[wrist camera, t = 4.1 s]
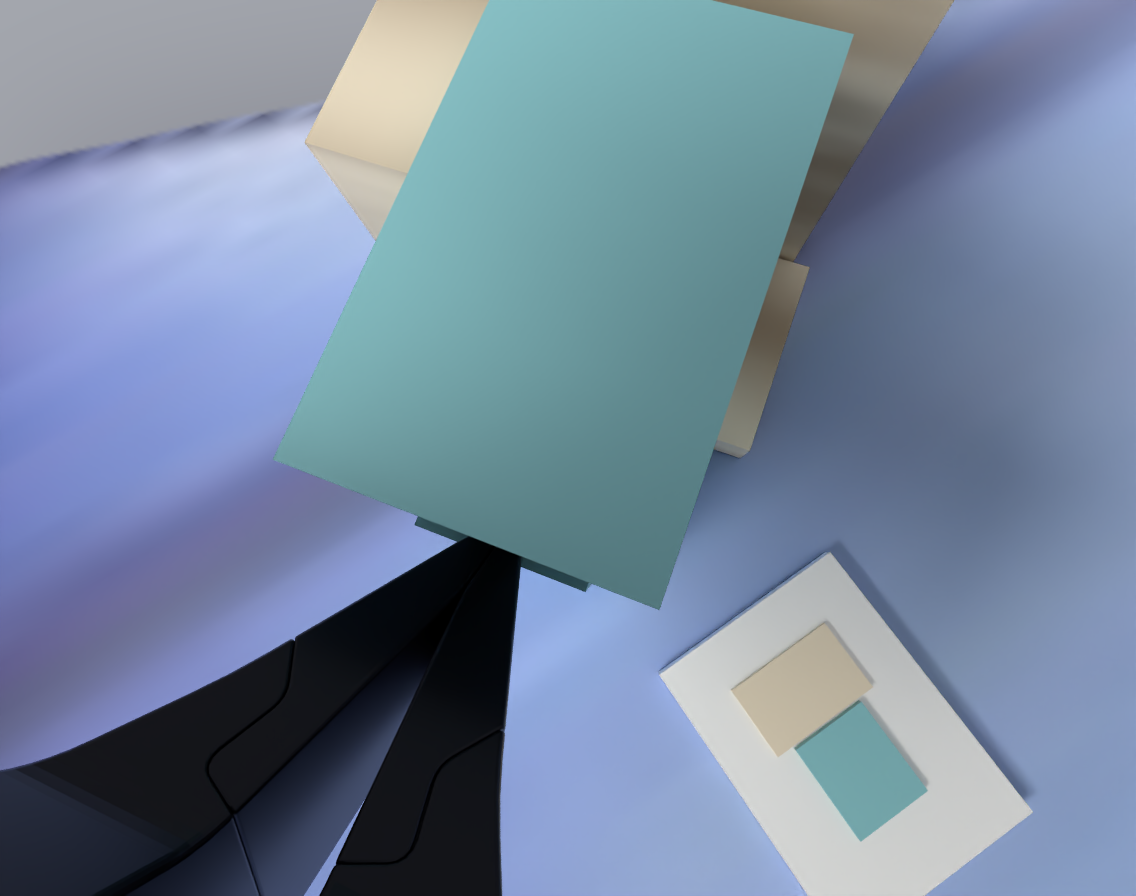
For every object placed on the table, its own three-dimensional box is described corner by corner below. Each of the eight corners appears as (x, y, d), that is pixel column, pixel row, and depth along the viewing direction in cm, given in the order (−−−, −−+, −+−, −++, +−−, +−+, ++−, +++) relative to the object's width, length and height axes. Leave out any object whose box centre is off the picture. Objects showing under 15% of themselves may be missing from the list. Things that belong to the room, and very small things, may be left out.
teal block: (624, 590, 17) (649, 635, 6) (467, 529, 17) (262, 482, 7) (713, 336, 18) (853, 34, 8) (564, 289, 19) (511, -48, 8)
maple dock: (740, 458, 17) (909, 324, 8) (463, 362, 19) (304, 142, 9) (814, 232, 19) (1040, -128, 9) (550, 156, 20) (496, -234, 10)
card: (1022, 805, 15) (1038, 815, 15) (841, 944, 15) (850, 959, 14) (825, 552, 17) (832, 551, 16) (657, 671, 16) (659, 676, 16)
